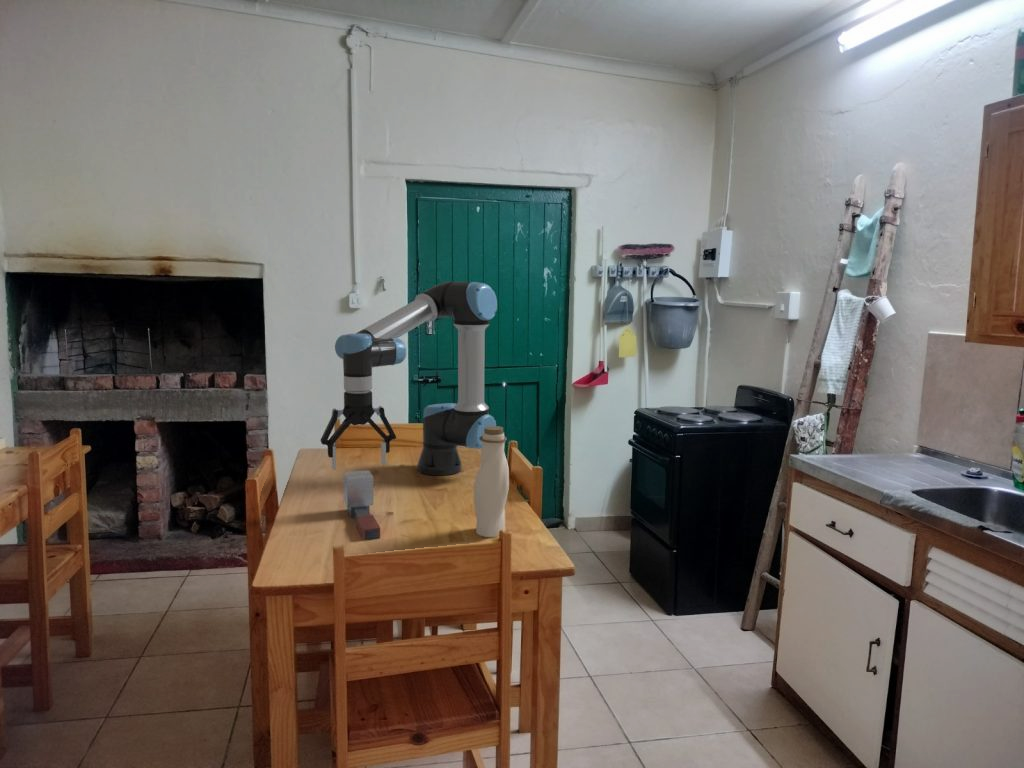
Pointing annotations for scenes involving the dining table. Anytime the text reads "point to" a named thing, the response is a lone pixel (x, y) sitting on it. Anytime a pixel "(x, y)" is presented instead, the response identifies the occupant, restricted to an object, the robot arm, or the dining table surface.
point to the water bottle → (491, 483)
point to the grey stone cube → (358, 488)
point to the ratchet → (365, 522)
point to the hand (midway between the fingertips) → (359, 466)
